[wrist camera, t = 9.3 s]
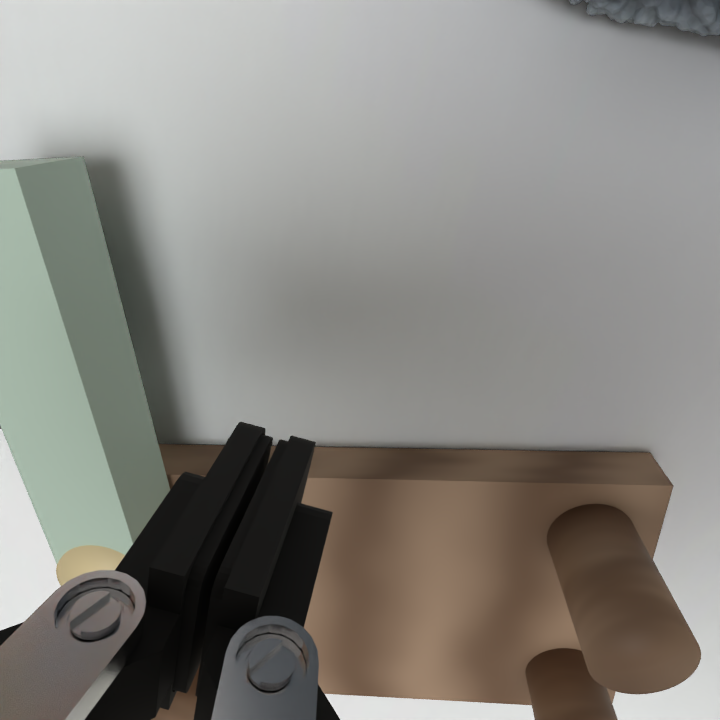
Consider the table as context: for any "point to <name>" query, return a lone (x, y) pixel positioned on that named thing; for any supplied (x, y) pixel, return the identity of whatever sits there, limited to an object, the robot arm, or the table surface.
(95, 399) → the folding leg
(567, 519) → the stool seat
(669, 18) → the koala plush
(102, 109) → the table surface
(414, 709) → the table surface
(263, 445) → the robot arm
